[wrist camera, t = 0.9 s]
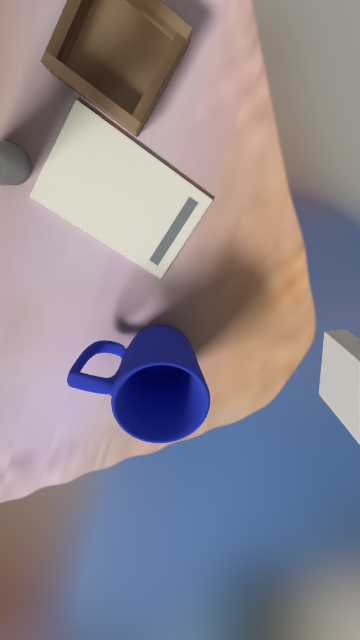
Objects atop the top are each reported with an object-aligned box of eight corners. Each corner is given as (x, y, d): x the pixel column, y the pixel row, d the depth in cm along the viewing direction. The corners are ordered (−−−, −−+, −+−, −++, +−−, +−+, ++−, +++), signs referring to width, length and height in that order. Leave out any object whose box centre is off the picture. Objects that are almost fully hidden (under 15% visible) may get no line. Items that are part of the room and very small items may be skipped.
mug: (95, 298, 34) (71, 339, 24) (206, 325, 36) (223, 373, 26) (81, 366, 36) (55, 426, 27) (185, 388, 38) (193, 451, 29)
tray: (51, 73, 26) (40, 61, 24) (100, -34, 24) (93, -60, 22) (137, 137, 28) (135, 132, 26) (189, 43, 26) (192, 28, 24)
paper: (30, 196, 30) (29, 196, 29) (77, 100, 27) (76, 99, 27) (160, 278, 33) (160, 279, 33) (212, 199, 31) (212, 199, 30)
